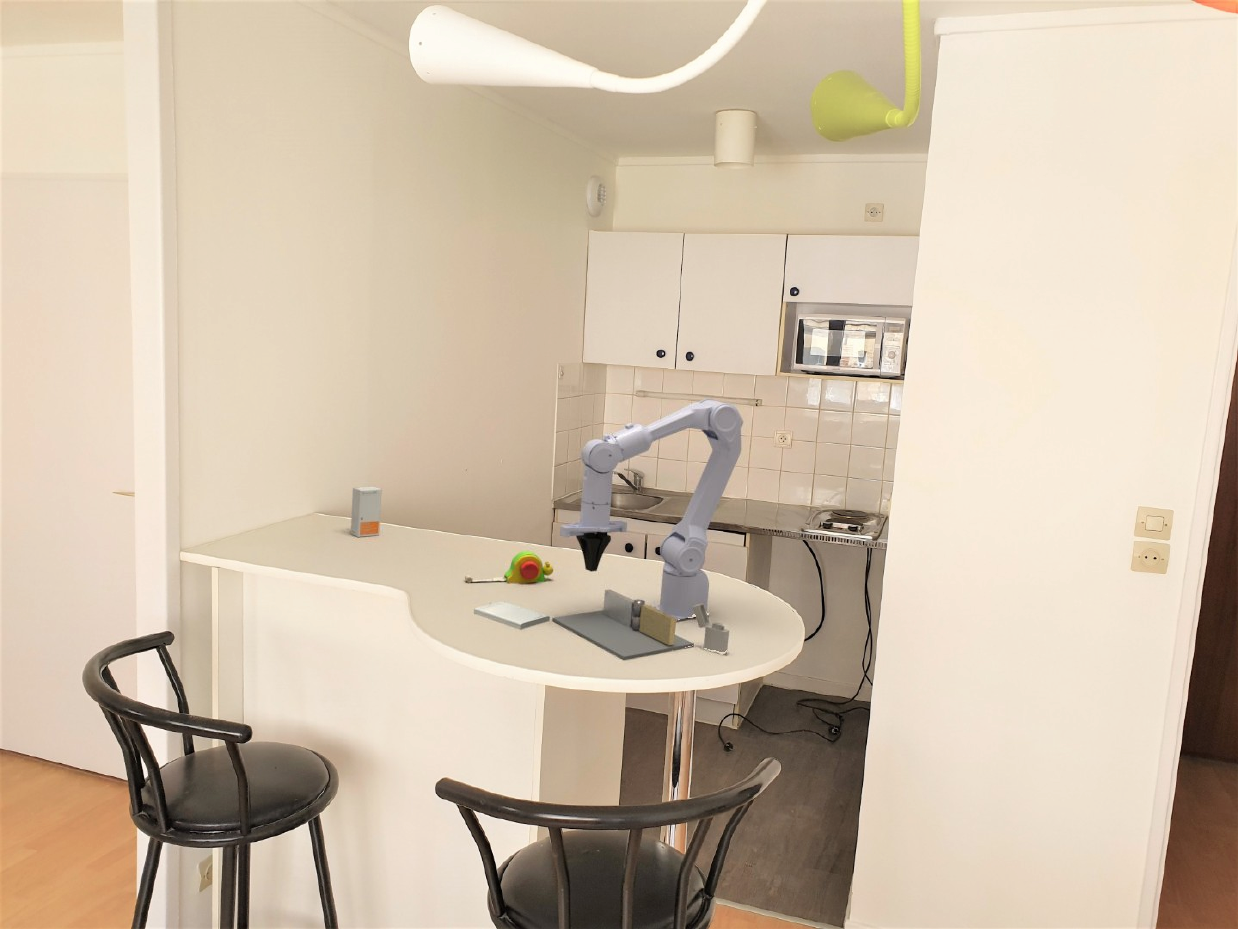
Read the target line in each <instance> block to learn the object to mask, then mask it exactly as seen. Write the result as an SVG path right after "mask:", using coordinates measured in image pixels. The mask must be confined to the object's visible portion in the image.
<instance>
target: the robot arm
mask: <svg viewBox="0 0 1238 929" xmlns="http://www.w3.org/2000/svg"><path fill="white" fill-rule="evenodd" d="M743 424H744V420H743V418H742V416H741V413H740V411H739V410H738V408H737V407H736V406H735V405H733V404H732V403H728V402H722V401H717V400H715V399H712V398H705V399H701V400H700V401H699V402H697V401H696V402H692V403H690V404H688V405H686V406H685V407H683V408H680V409H678V410H677V411H674V412H672V413H670V414H668V415H666V416H664V417H662V418H660V419H658V420H656V421H654V422H651V423H650V424H648V425H645V426H644V425H642V424H640V423H631V422H628V423H627V424H625V425H624V427H625V428H622V429H621V430H618V431H616V432H613V433H612V434H609V433H605V434H603V436H602V437H603V439H597V438H596V439H595V438H594V439H590V440H589V441H587V442H586V443H585V445H584V446H583V448H582V450H581V452H580V453H579V455H580V459H581V461H582V463H583V465H584V466H583V477H582V489H581V499H580V501H581V502H580V504H581V505H580V516H579V517H580V518H579V521H578V522H574V523H569V524H563V525H560V528H559V529H560V531H559V536H561V537H564V538H565V539H567V538H570V537H574V536H575V537H576V539H577V542H578V544H579V546H580V549H581V552H582V556H583V560H584V562H583V563H584V567H585V570H586V571H589V572H597V571H598V569H599V568H598V567H599V564H600V562H601V559H602V557H603V554H604V552H605V550H606V548H607V547H608V546H609V544H610V543H611V541H612V536H611V535H609V534H611V533H627V527H628V522H627V521H626V522H625V521H623V520H610V517H611V504H612V491H613V474H614V470H615V469H616V468H617V467H618V465H619V463H620V464H621V463H623V462H625V461H627V460H629V459H632V458H634V457H637V456H638V455H641V454H643V453H645V452H646V453H647V451H649V450H650V449H651V446H652V443H654V442H656V441H658V440H660V439H663V438H667V437H669V436H672V435H674V434H677V433H679V432H682V431H684V430H686V429H695V430H701V432H703V434H704V435H705V436H706V438H707V440H708V443H709V445H710V447H711V449H712V450H711V453H710V455H709V457H708V461H707V463H706V464H705V467H704V468H703V470H702V471H703V472H702V473H701V475H700V477H699V478H700V479H699V481H698V482H697V485H696V487H695V490H694V492H693V494H692V495H691V496H692V497H691V499H690V501H689V504H688V506H687V508H686V510H685V513H684V515H683V516H682V519H681V520H680V521H679V522H678V523H676V524H675V525H674V526H673V527H672V530H671V531H670V533H669V534H668V535H666V537H665V538H664V539H663V540H662V542H661V544H660V546H659V554H660V557H661V559H663V562H664V564H663V567H662V575H661V576H662V577H661V578H662V579H661V590H660V600H659V601H660V602H659V605H658V606H652V607H653V608H655V609H658V610H660V611H662V612H664V613H667V614H669V615H671V616H673V617H676V620H678V619H684V620H686V619H685V618H688V617H692V615H693V614H695V612H694V608H693V606H694V605H697V604H701V603H704V606H705V609H706V611H707V612H708V602H709V601H708V600H709V592H710V590H709V589H710V583H709V582H710V580H709V578H708V575H707V574H706V573H705V571H704V570H703V569H702V568H703V567H704V565H705V563H706V551H707V550H706V549H707V547H708V545H709V544H708V535H707V531H708V528H709V526H710V523H711V521H712V519H713V517H714V514H715V512H716V510H717V507H718V505H719V503H720V500H721V498H722V497H723V494H724V492H725V490H726V487H727V485H728V482H729V481H730V478H731V476H732V474H733V471H734V469H735V467H736V465H737V463H738V460H739V457H740V456H741V452H742V427H743ZM678 621H679V620H678Z"/></svg>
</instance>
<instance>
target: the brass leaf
mask: <svg viewBox="0 0 1238 929" xmlns="http://www.w3.org/2000/svg"><path fill="white" fill-rule="evenodd" d="M633 600H634V608H633V615H634V616H637V617H640V629H639V631H640V632H643V633H645V634H647V635H649V636H651V637H653V638H655V639H657V640H659V641H661V642H663V643H665V644H667V645H674V638H675V635H676V627H677V626H676V625H677V621H676V617H673V616H671V615H669V614H667V613H664V612H662V611H660V610H658V609H655V608H653V607H654V606H650V605H648V604H646V603H645V600H643V599H633Z"/></svg>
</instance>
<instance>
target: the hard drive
mask: <svg viewBox="0 0 1238 929" xmlns="http://www.w3.org/2000/svg"><path fill="white" fill-rule="evenodd" d="M474 614H475V615H478V616H480V617H483V618H487V619H489V620H491V621H495V622H498V623H500V624H503V625H506V626H508V627H512V628H514V629H518V630H524V629H527V628H531V627H534V626H536V625H539V624H543V623H546V622H550V620H551V619H550V616H549V615H547V614H542V613H540V612H537V611H534V610H532V609H528V608H525V607H521V606H519V605H516V604H513V603H510V602H506V601H502V600H501V601H498V602H493V603H490V604H486V605H482V606H478V607H475V608H474V610H473V615H474Z"/></svg>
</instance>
